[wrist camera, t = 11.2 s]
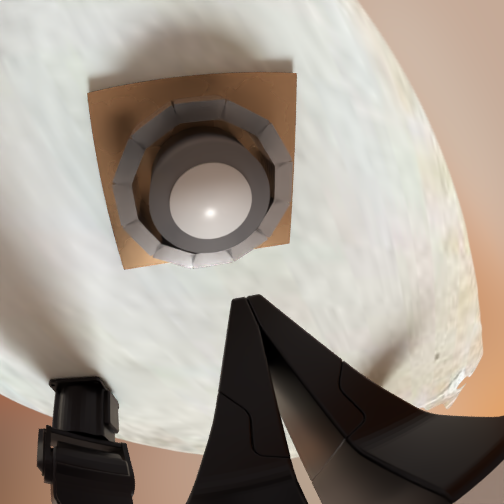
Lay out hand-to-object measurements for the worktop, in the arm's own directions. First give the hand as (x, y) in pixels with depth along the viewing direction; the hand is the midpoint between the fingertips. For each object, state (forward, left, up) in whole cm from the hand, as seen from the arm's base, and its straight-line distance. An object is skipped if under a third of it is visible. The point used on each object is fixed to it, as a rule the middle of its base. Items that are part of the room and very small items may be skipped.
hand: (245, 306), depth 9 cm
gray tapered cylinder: (0, 0, -11) cm, 11 cm away
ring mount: (0, 0, -12) cm, 12 cm away
